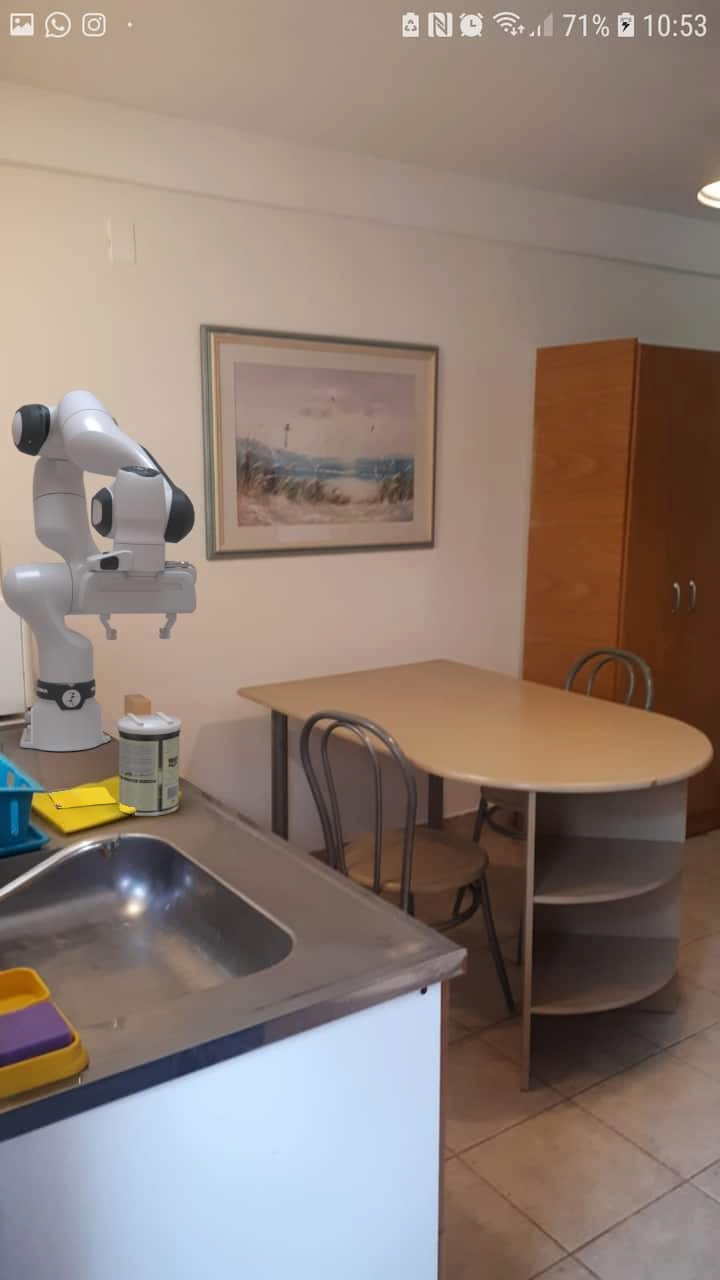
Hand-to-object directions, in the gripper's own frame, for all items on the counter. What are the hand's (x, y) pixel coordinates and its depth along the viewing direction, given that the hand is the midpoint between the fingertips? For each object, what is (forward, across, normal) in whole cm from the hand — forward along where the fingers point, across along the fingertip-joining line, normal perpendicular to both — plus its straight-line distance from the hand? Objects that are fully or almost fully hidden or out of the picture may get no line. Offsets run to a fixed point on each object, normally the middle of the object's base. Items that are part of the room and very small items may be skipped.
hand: (138, 639), depth 167 cm
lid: (+14, 0, +5) cm, 15 cm away
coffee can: (+28, 0, +8) cm, 30 cm away
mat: (+28, +10, -1) cm, 30 cm away
